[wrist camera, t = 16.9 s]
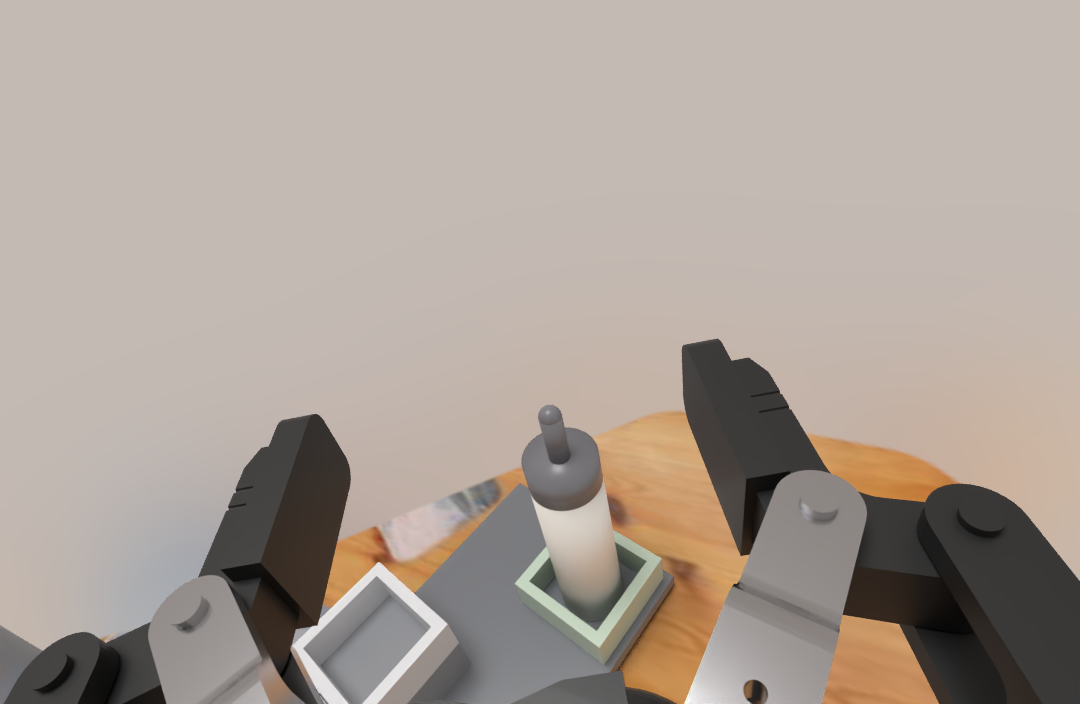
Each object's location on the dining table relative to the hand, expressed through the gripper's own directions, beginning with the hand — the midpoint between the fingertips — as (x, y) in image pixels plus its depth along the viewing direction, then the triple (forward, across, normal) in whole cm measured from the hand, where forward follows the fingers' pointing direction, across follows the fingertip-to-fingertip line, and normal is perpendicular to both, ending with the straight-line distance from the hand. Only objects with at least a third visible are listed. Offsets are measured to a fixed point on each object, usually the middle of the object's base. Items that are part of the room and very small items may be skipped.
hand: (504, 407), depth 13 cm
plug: (+11, 0, +29) cm, 31 cm away
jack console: (+9, +6, +30) cm, 32 cm away
